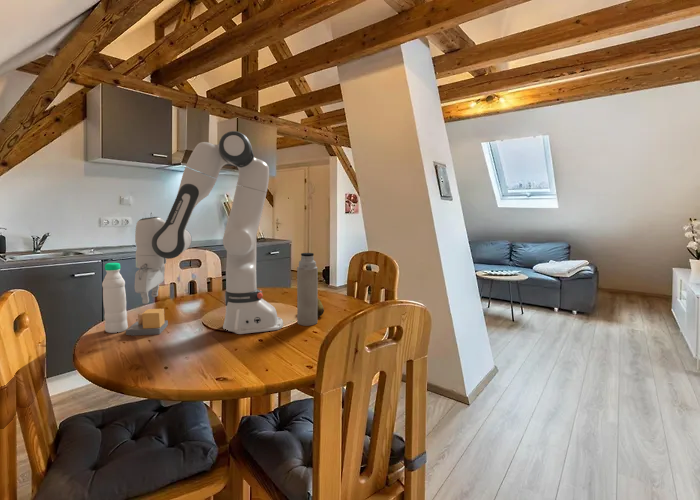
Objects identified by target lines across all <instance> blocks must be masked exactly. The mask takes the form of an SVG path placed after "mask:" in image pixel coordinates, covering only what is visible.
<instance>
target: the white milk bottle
mask: <svg viewBox="0 0 700 500" xmlns="http://www.w3.org/2000/svg"><path fill="white" fill-rule="evenodd" d="M104 270H105V272H106V274H105V276H104V278H103V281H102V283H101V286H102V302H103V310H104V316H103V319H104V331H105V332H106V333H108V334H118V333H123V332H126V330H127V329H128V328H129V326H128V325H129V324H128V323H129V322H128V312H127V295H126V287H125V285H126V281H125V279H124V278H123V276H122V274H121V273H120V271H121V263H119V262H108V263H105V265H104ZM117 332H118V333H117Z"/></svg>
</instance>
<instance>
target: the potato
mask: <svg viewBox="0 0 700 500" xmlns="http://www.w3.org/2000/svg"><path fill="white" fill-rule="evenodd" d="M324 312H325V309H324V305H323V303H322V300H320V299H319V298H318V305H317V315H318V318H319V317H321V316H322V315H324Z"/></svg>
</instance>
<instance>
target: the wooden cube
mask: <svg viewBox="0 0 700 500" xmlns="http://www.w3.org/2000/svg"><path fill="white" fill-rule="evenodd" d="M142 318H143V328H160V327H161V326H162V325H163V324H164V323H165V308H148V309H146V310H145V311H143V312H142Z"/></svg>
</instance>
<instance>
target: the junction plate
mask: <svg viewBox="0 0 700 500" xmlns="http://www.w3.org/2000/svg"><path fill="white" fill-rule="evenodd" d="M142 313H143V312H142ZM142 313H137V321H136V322H134V323H133V324H131V325H130V326H128V328H127V329H126V330H125V335H131V336H151V335H161V334H162V333H163V332H164V330H165V329H166V328H168V326H169V321H168V320H165V319H164V320H165V323H164V324H163V325H162V326H161V327H160V328H143V318H142Z"/></svg>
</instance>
